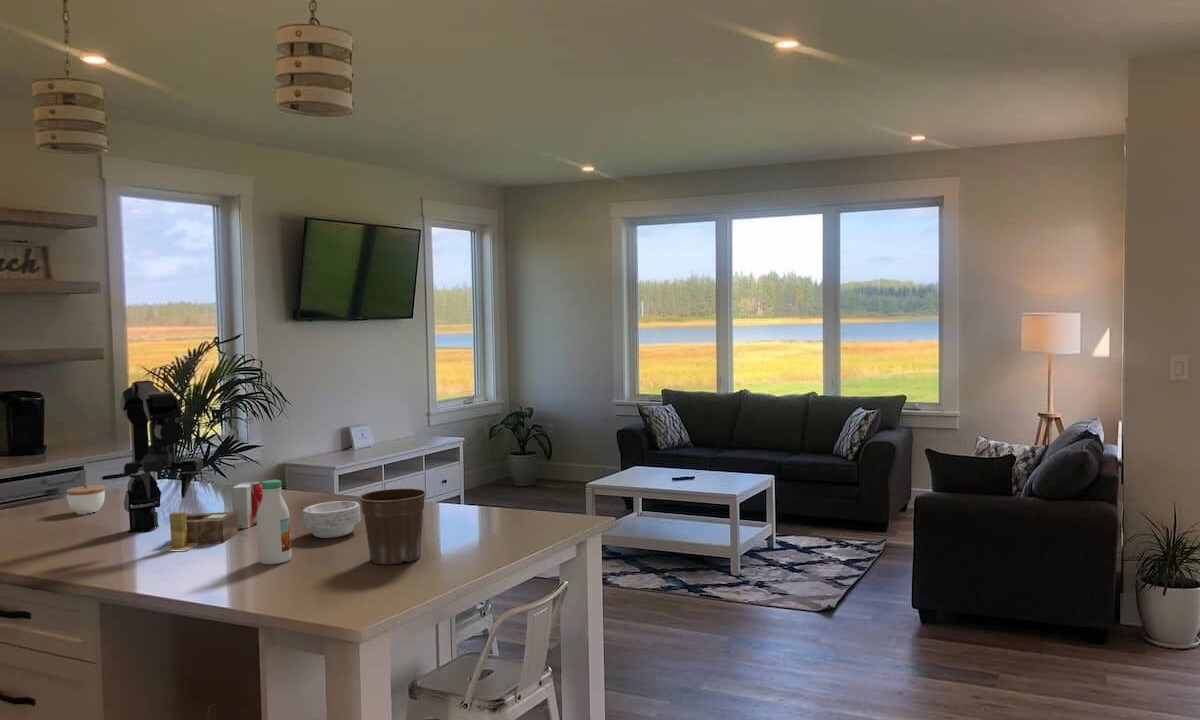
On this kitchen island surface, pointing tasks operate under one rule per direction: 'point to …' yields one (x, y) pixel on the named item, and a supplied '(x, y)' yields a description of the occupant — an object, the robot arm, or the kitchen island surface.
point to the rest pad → (180, 548)
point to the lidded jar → (86, 498)
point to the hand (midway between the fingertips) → (165, 498)
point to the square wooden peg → (178, 530)
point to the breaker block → (210, 527)
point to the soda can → (255, 497)
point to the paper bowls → (331, 518)
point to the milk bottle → (273, 525)
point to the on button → (217, 516)
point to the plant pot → (393, 524)
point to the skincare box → (242, 505)
